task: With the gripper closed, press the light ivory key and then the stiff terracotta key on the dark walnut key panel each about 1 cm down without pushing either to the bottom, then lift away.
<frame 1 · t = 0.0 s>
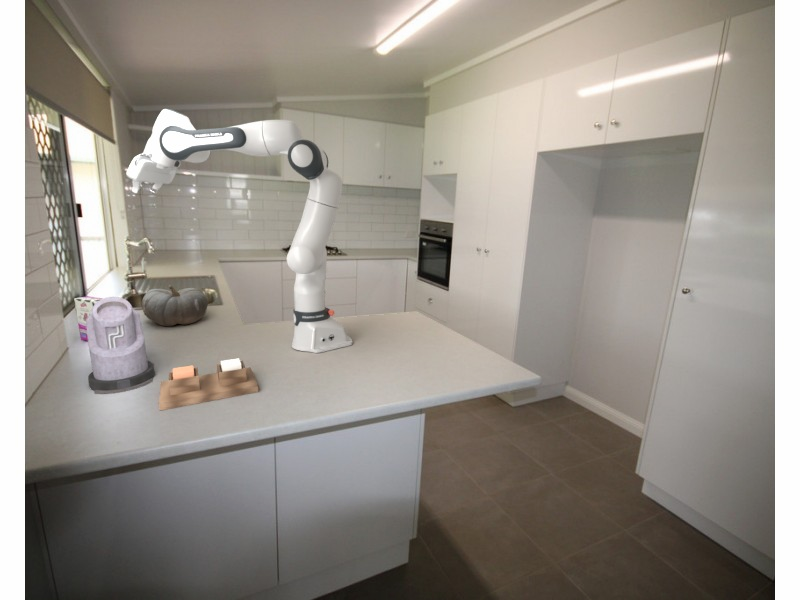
hand: (144, 192, 138), 54 cm above the countertop, fingers open, 8 cm apart
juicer: (122, 374, 123), on the countertop
key panel: (209, 389, 113), on the countertop
gourd: (178, 322, 176), on the countertop
ivory key: (231, 367, 114), point 6 cm above the countertop, slide at 0.0 cm
terracotta key: (183, 375, 109), point 6 cm above the countertop, slide at 0.0 cm
candy bar box: (97, 341, 151), on the countertop
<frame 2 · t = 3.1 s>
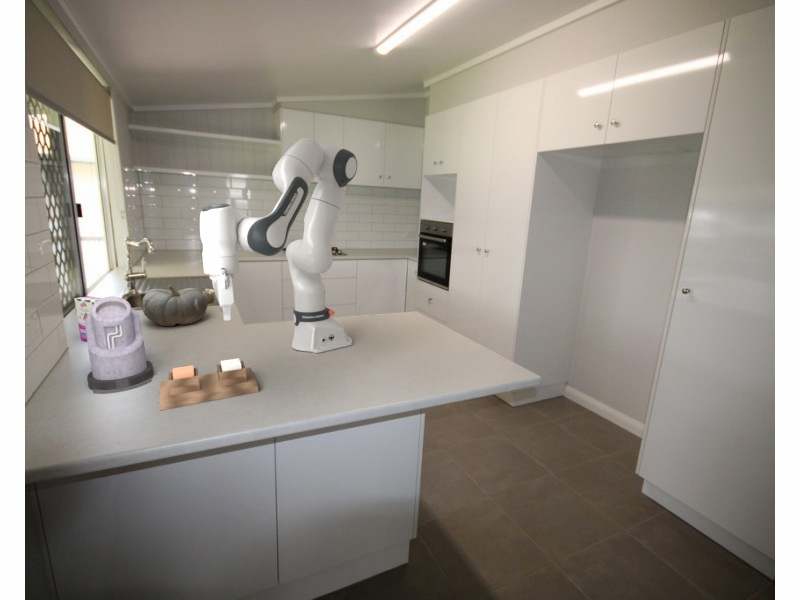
hand: (225, 315, 111), 21 cm above the countertop, fingers open, 8 cm apart
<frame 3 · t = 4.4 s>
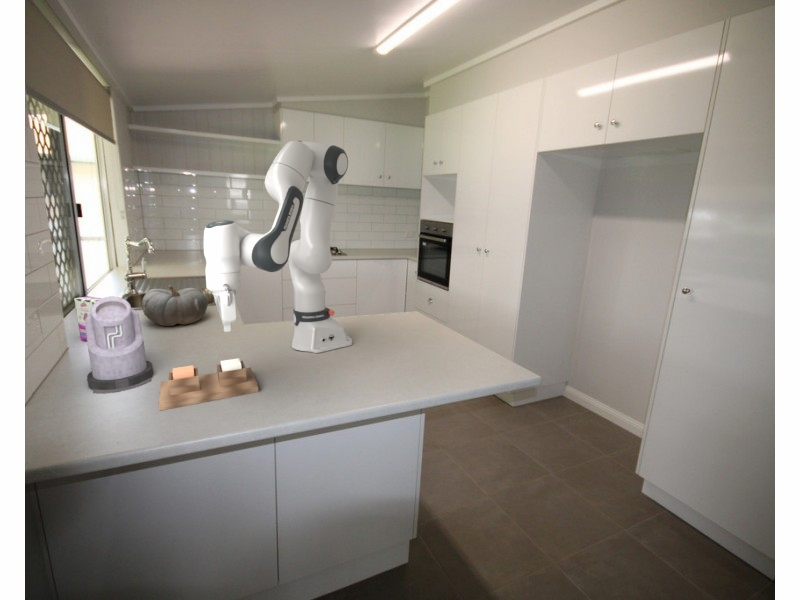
hand: (227, 330, 111), 17 cm above the countertop, fingers closed
nothing on the countertop moved.
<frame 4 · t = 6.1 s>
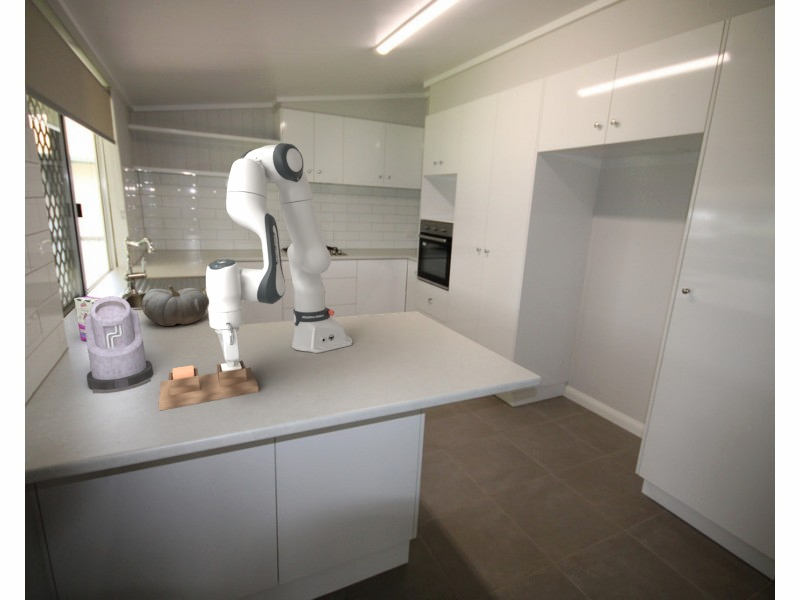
hand: (230, 365, 114), 6 cm above the countertop, fingers closed, pressing on ivory key
ivory key: (231, 370, 115), point 5 cm above the countertop, slide at 0.9 cm, touching gripper
everything else where it was.
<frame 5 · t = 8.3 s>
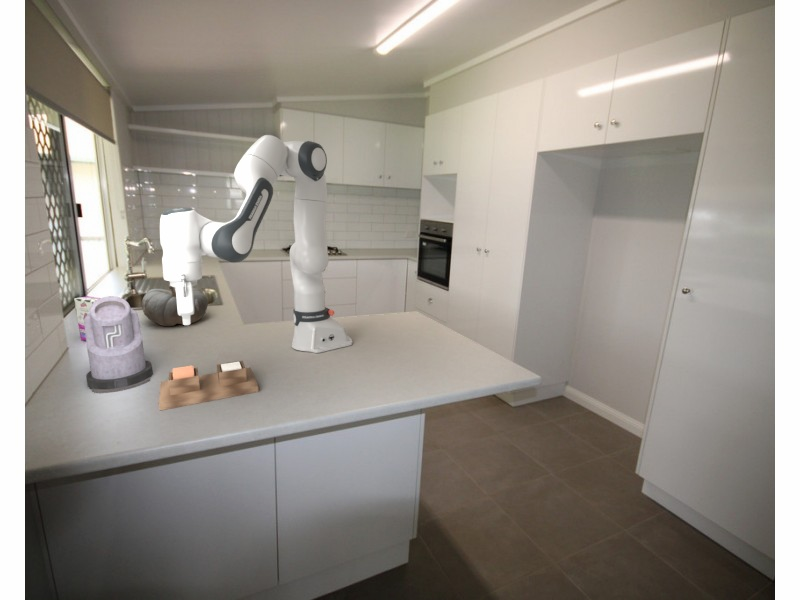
hand: (186, 323, 106), 20 cm above the countertop, fingers closed
ivory key: (231, 370, 115), point 5 cm above the countertop, slide at 1.0 cm
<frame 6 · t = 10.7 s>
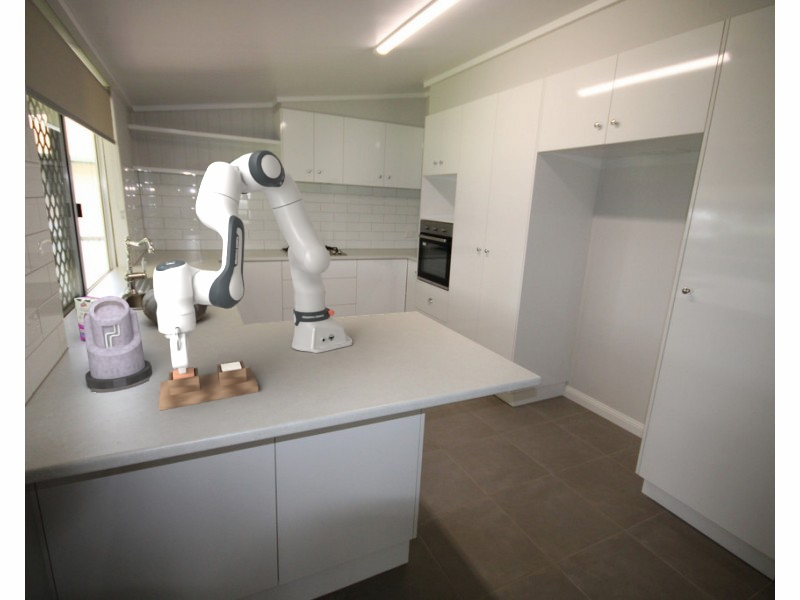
hand: (182, 371, 109), 7 cm above the countertop, fingers closed, pressing on terracotta key
terracotta key: (184, 376, 109), point 5 cm above the countertop, slide at 0.5 cm, touching gripper
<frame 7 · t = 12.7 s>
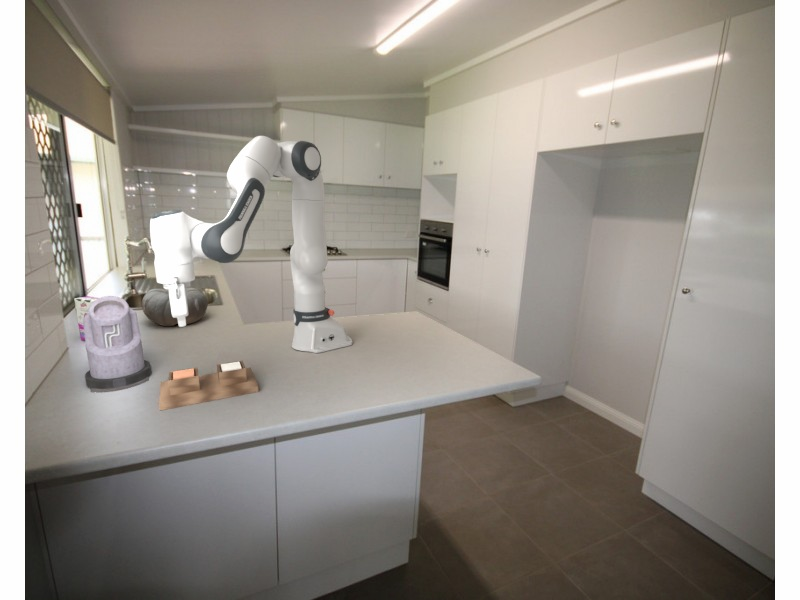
hand: (182, 325, 107), 19 cm above the countertop, fingers closed
terracotta key: (184, 378, 109), point 5 cm above the countertop, slide at 0.9 cm
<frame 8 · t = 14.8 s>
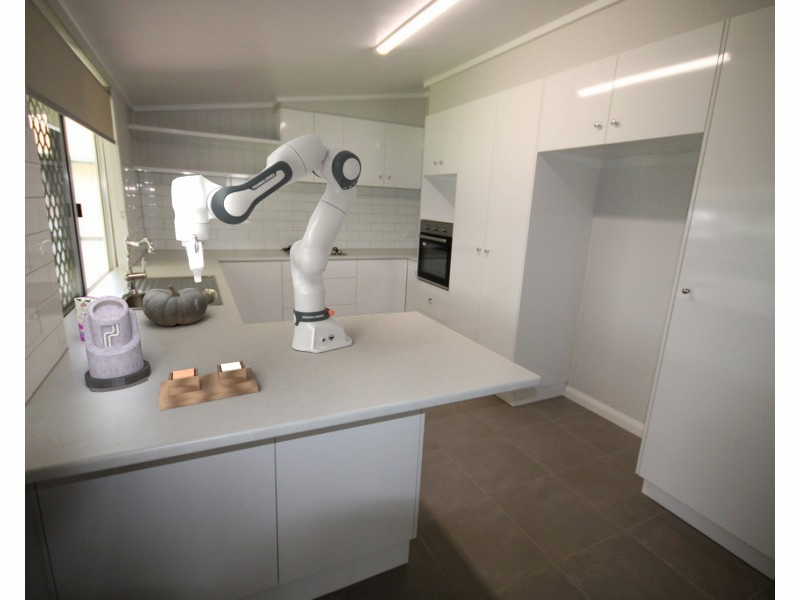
hand: (198, 281, 116), 29 cm above the countertop, fingers closed
at the end: ivory key slide at 1.0 cm; terracotta key slide at 0.9 cm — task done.
